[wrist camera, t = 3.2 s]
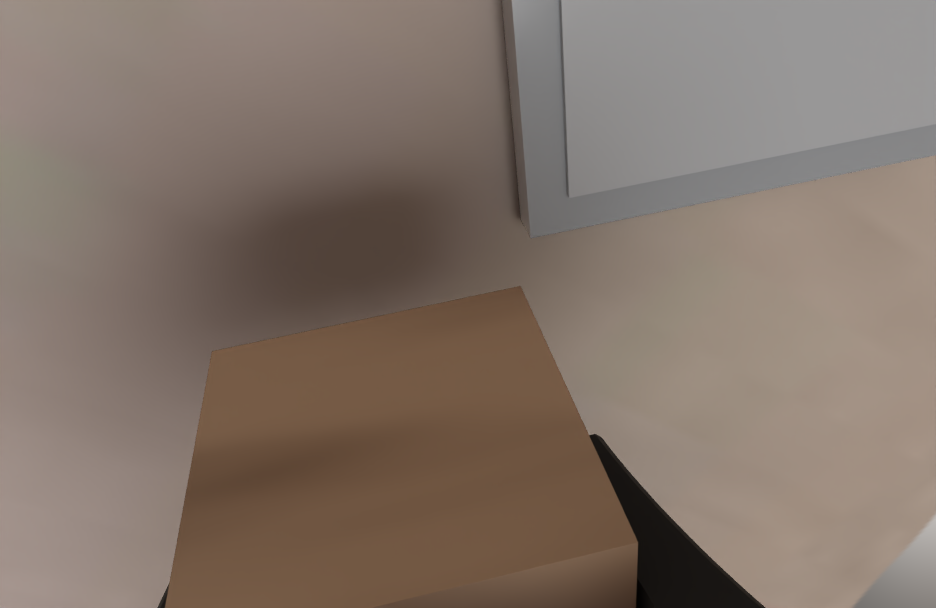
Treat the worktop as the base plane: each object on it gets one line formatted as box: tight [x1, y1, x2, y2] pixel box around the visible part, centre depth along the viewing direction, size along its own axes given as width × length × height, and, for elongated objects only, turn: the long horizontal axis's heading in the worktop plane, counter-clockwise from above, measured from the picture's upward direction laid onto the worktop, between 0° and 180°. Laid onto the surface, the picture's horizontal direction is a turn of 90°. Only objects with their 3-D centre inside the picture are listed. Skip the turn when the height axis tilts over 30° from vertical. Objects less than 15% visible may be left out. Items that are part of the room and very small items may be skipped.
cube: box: [165, 286, 638, 608], centre depth 11 cm, size 5×5×5 cm
